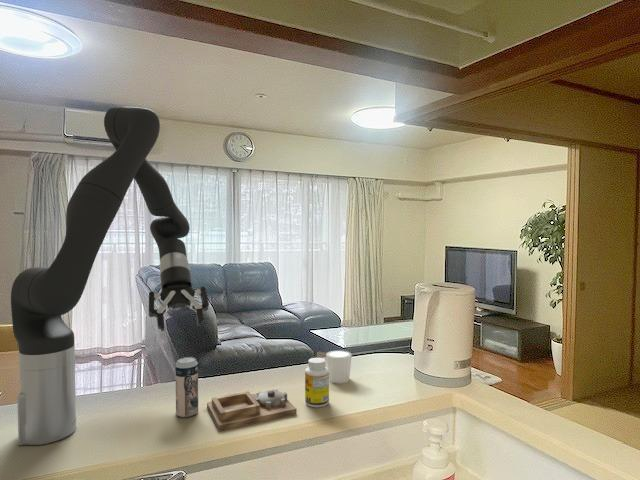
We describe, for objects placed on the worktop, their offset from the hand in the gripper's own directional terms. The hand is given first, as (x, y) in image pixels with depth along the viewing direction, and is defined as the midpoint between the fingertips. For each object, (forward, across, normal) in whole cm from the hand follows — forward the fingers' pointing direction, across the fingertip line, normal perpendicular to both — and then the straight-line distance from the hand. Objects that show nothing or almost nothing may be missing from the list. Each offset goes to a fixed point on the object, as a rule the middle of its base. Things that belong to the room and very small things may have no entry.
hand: (181, 327), depth 101 cm
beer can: (+20, -1, +3) cm, 20 cm away
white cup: (+18, +39, +8) cm, 44 cm away
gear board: (+23, +13, 0) cm, 26 cm away
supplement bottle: (+25, +28, -1) cm, 37 cm away
